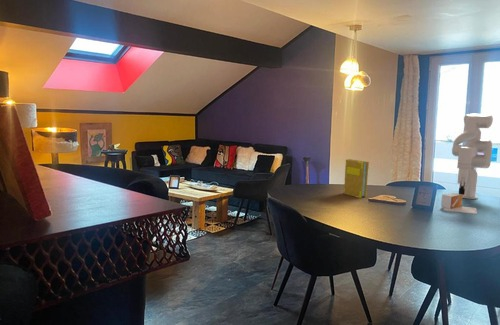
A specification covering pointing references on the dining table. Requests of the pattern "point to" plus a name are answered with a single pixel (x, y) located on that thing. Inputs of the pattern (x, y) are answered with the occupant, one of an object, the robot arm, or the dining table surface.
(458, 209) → the mat
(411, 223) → the dining table surface
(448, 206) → the small box
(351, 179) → the book
